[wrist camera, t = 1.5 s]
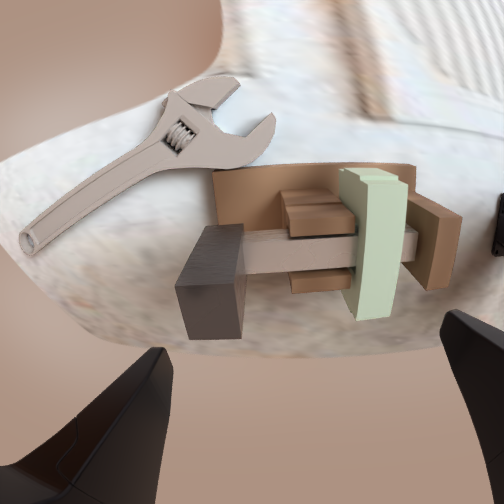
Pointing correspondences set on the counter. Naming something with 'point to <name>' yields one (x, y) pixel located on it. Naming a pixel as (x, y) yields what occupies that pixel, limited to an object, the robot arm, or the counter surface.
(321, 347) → the counter surface
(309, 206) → the stand
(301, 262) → the shaft
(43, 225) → the adjustable wrench
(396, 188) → the spacer
